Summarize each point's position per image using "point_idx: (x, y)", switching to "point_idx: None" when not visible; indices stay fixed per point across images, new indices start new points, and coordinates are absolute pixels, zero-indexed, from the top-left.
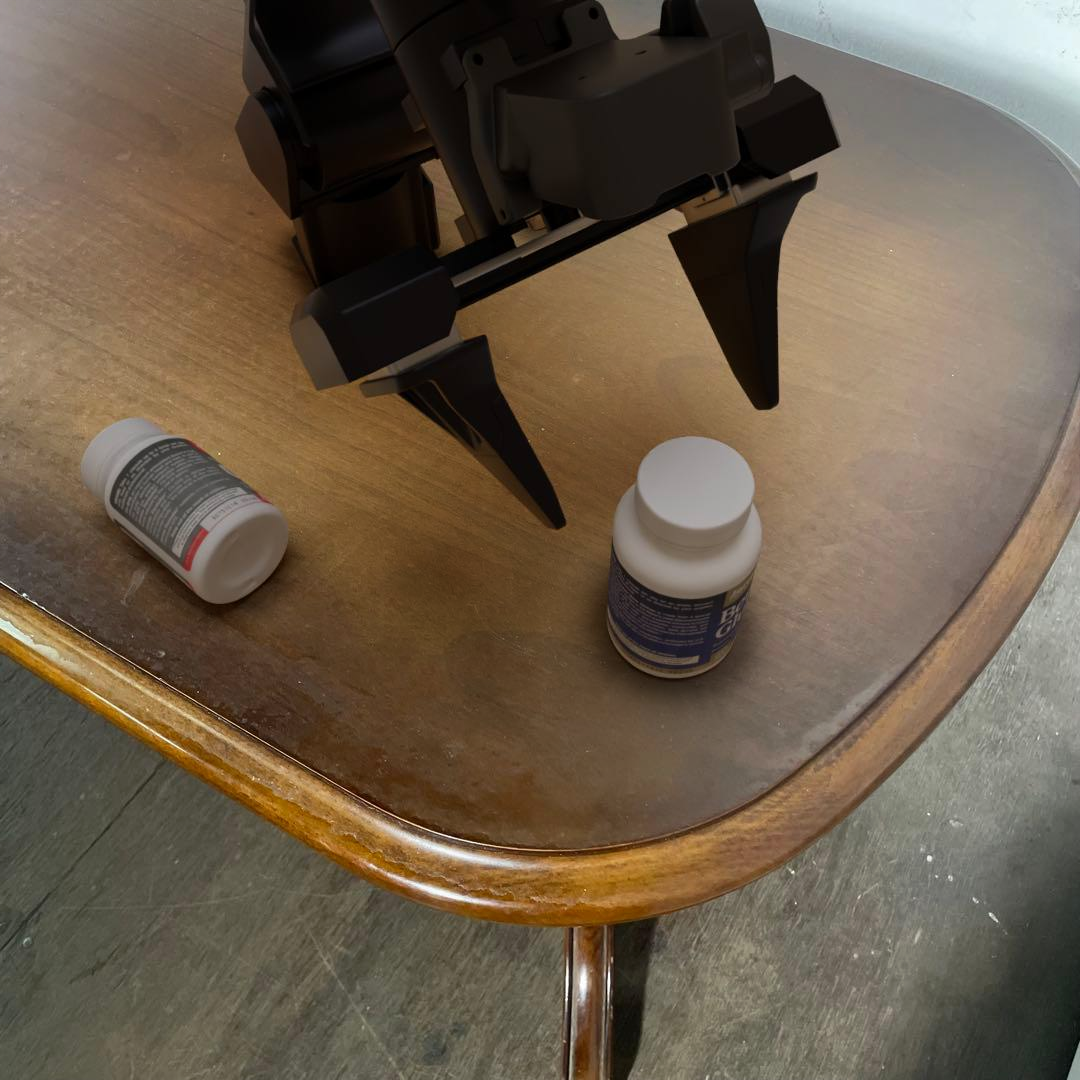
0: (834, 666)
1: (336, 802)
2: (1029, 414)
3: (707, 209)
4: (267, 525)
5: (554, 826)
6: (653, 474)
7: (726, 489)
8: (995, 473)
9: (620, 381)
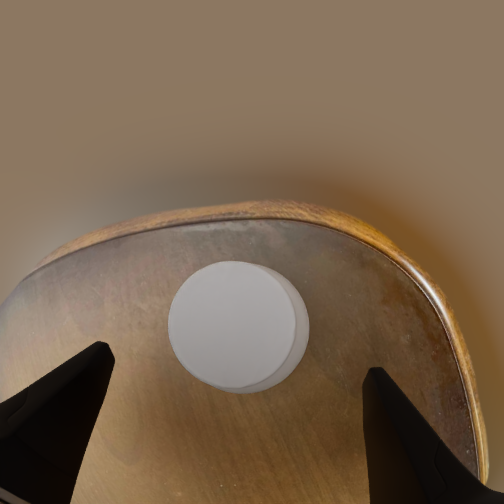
0: (199, 249)
1: (457, 343)
2: (31, 290)
3: (13, 500)
4: None
5: (386, 271)
6: (262, 360)
7: (212, 293)
8: (59, 278)
9: (157, 475)
